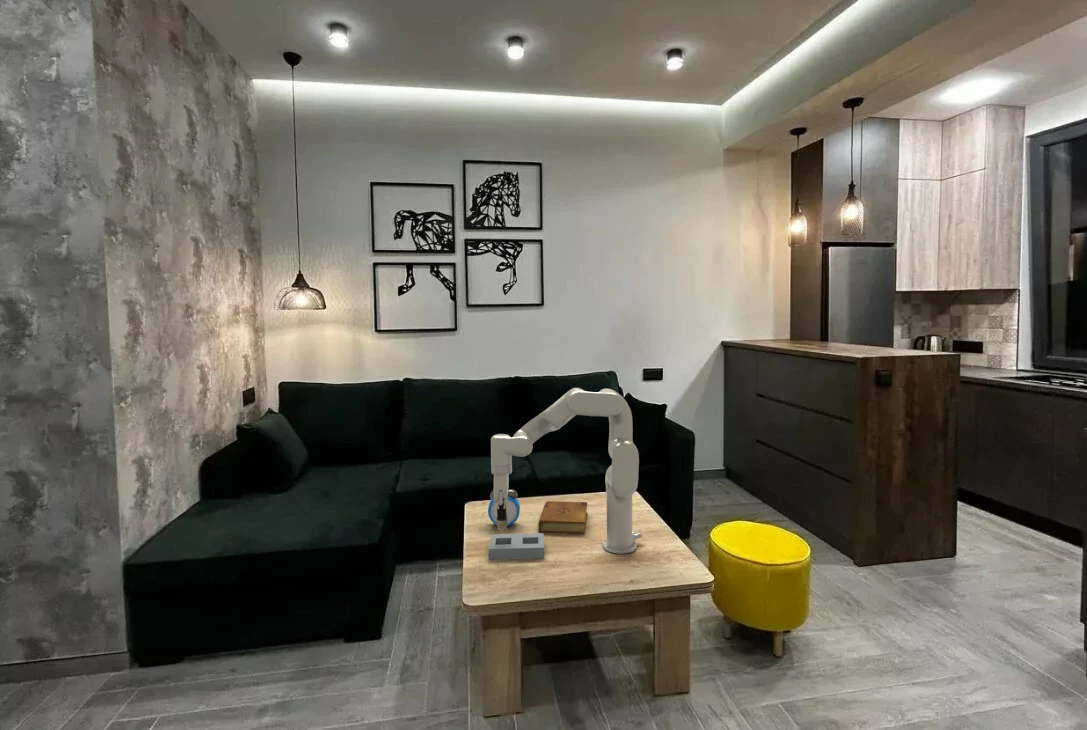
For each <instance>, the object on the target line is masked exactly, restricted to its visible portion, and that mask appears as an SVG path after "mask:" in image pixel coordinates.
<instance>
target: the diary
mask: <svg viewBox="0 0 1087 730" xmlns="http://www.w3.org/2000/svg"><path fill="white" fill-rule="evenodd" d="M587 509H588V501H558V500H557V501H556V500H554V501H553V500H551V501H550V500H546V501H545V503H544V505H543V508H542V510H541V511H542V512H541V514H540V517H539V519H538V522H537V523H538V525H537V526H538V527H537V529H538V533H544V534H564V533H566V534H569V535H574V534H575V535H585V534H586V528H587V520H588V512H587ZM570 533H571V534H570Z"/></svg>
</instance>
